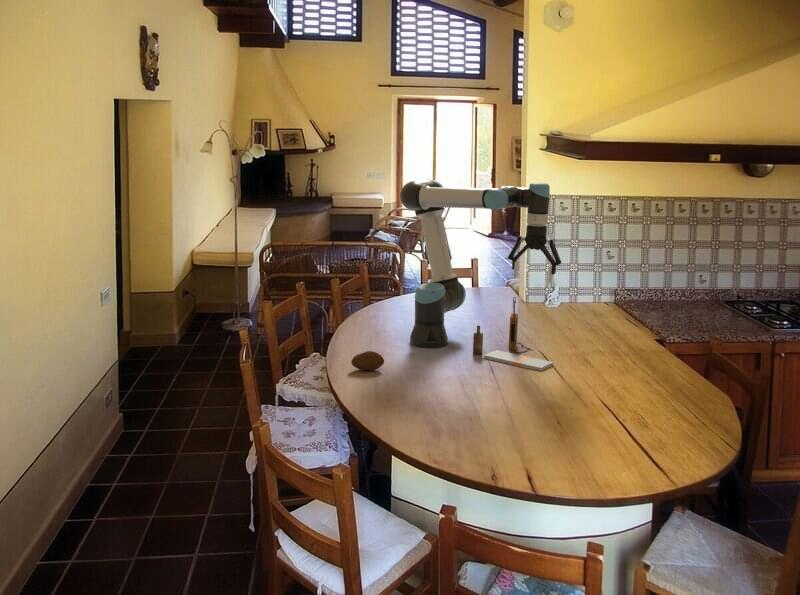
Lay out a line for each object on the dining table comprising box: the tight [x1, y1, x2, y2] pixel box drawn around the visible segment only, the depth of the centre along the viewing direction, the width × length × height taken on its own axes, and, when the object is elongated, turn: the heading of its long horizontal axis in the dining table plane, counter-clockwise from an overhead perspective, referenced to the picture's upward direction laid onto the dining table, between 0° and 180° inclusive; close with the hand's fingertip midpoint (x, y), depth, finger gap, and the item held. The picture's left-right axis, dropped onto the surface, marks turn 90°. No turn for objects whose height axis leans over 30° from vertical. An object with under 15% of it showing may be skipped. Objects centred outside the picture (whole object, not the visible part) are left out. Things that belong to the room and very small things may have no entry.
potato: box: [350, 350, 385, 371], centre depth 272 cm, size 7×12×7 cm, turn 101°
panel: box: [483, 349, 554, 372], centre depth 285 cm, size 24×9×1 cm, turn 52°
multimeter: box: [508, 296, 534, 354], centre depth 301 cm, size 15×10×20 cm
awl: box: [472, 324, 484, 356], centre depth 294 cm, size 4×4×11 cm
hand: (532, 280), depth 294 cm, fingers open, 13 cm apart
